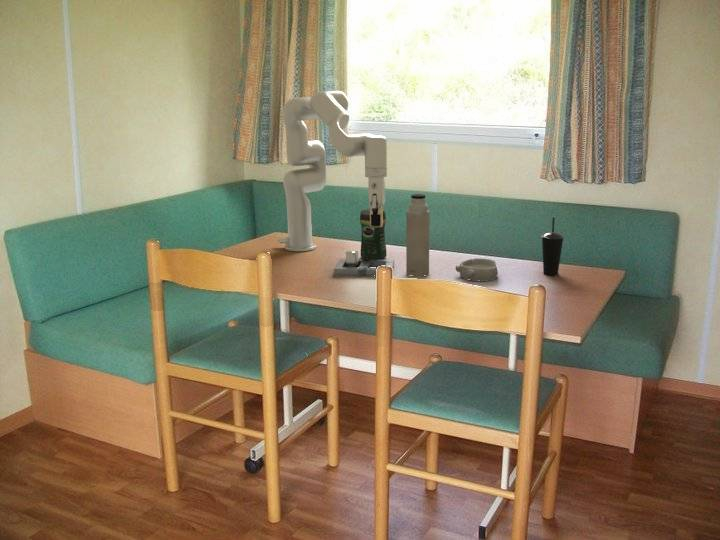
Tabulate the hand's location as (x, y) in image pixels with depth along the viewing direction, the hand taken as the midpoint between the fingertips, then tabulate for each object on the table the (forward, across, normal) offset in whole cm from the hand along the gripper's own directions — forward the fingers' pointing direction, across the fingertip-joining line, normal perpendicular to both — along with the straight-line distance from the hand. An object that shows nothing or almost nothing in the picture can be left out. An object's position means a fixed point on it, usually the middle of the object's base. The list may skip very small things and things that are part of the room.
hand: (376, 223), depth 270 cm
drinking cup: (+18, +1, -60) cm, 63 cm away
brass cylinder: (+1, 0, 0) cm, 1 cm away
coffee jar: (+18, +19, +4) cm, 26 cm away
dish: (+18, -4, -36) cm, 40 cm away
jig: (+17, 0, +4) cm, 18 cm away
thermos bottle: (+18, -2, -14) cm, 23 cm away
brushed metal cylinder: (+17, 0, +9) cm, 20 cm away
